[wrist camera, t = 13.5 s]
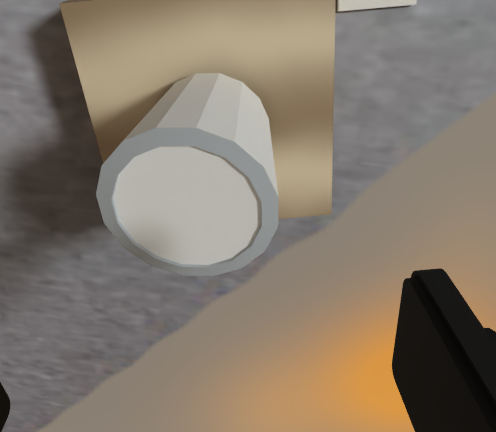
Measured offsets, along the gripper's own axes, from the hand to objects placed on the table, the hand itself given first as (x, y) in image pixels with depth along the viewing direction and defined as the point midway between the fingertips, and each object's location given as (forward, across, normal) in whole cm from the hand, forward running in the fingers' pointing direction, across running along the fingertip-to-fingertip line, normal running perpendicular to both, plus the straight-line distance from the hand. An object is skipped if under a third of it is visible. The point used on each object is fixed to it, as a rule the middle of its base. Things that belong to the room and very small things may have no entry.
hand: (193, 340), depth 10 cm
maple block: (+19, 0, 0) cm, 19 cm away
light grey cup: (+14, 0, 0) cm, 14 cm away
